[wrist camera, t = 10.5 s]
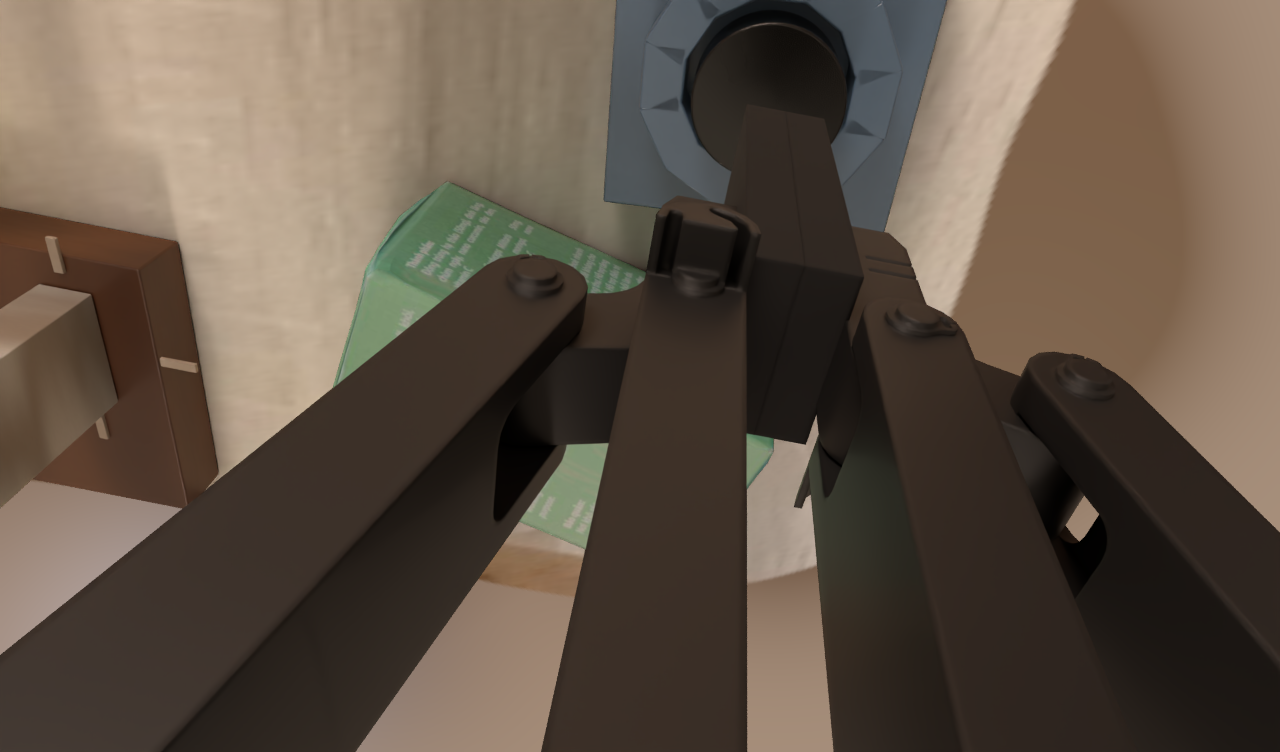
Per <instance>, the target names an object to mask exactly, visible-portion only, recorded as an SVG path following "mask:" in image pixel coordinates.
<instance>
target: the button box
mask: <svg viewBox="0 0 1280 752" xmlns="http://www.w3.org/2000/svg"><path fill="white" fill-rule="evenodd" d="M946 3H947V0H616V13H615V29H614V44H613V60H612V75H611V91H610V106H609V122H608V137H607V153H606V168H605V184H604V201H605V202H612V203H620V204H628V205H636V206H644V207H652V208H660V209H661V208H662V205H664V204H665V203H667V202H668V201H670V200H671V199H673V198H674V197H676V196H677V195H679V196H684V197H689V198H694V199H699V200H705V201H710V202H715V203H720V204H724V202H725V197H726V193H727V189H728V184H729V180H730V175H731V171H729V170H727V169H726V168H724V167H723V166H721V165H720V164H719V163H717V162H716V161H715V160H714V159H713V158H712V157H711V156H710V155H709V154H708V153H707V152H706V150H705V149H704V147H703V146H702V144H701V143H700V141H699V139H698V137H697V135H696V132H695V129H694V126H693V122H692V117H691V106H690V105H691V93H692V87H693V82H694V78H695V74H696V70H697V66H698V63H699V60H700V58H701V56H702V54H703V52H704V50H705V48H706V47H707V45H708V44H709V42H710V41H711V40H712V39H713V37H714V36H715V35H716V34H717V33H718V32H719V31H720V30H721V29H722V28H723V27H725V26H726V25H728V24H729V23H730V22H732V21H734V20H735V19H737V18H739V17H741V16H744V15H746V14H749V13H753V12H757V11H763V10H782V11H787V12H791V13H794V14H797V15H800V16H802V17H804V18H806V19H808V20H809V21H811V22H812V23H813V24H815V25H816V26H817V27H818V28H819V29H820V30H821V31H823V32H824V34H825V35H826V36H827V38H828V39H829V40H830V42H831V44H832V45H833V47H834V49H835V51H836V54H837V56H838V59H839V62H840V64H841V67H842V70H843V72H844V76H845V80H846V86H847V106H846V113H845V117H844V120H843V124H842V126H841V128H840V131H839V133H838V135H837V136H836V138H835V140H834V141H833V143H832V144H831V147H832V151H833V155H834V159H835V163H836V167H837V171H838V175H839V179H840V183H841V187H842V191H843V195H844V199H845V203H846V207H847V211H848V214H849V218H850V222H851V226H854V227H859V228H864V229H870V230H875V231H880V232H884V231H885V227H886V224H887V220H888V216H889V213H890V209H891V205H892V202H893V198H894V194H895V190H896V187H897V183H898V179H899V176H900V172H901V168H902V165H903V161H904V157H905V154H906V150H907V146H908V143H909V139H910V135H911V132H912V128H913V124H914V121H915V117H916V113H917V110H918V106H919V102H920V99H921V95H922V91H923V88H924V84H925V80H926V77H927V73H928V69H929V65H930V62H931V58H932V54H933V51H934V47H935V43H936V40H937V36H938V32H939V29H940V25H941V21H942V18H943V14H944V10H945V7H946Z"/></svg>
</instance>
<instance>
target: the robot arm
mask: <svg viewBox="0 0 1280 752" xmlns="http://www.w3.org/2000/svg"><path fill="white" fill-rule="evenodd" d="M911 265H912V264H911V261H910V259H909V256H908V253H907V250H906V249H905V248H904V247H903V246H902V245H901V244H900V243H899V242H898V241H897V240H896V239H895V238H893V237H892V236H891V235H890V234H889V233H885V232H880V231H875V230H870V229H864V228H859V227H854V226H851V222H850V218H849V214H848V211H847V207H846V203H845V199H844V195H843V191H842V187H841V183H840V179H839V175H838V171H837V167H836V163H835V159H834V155H833V151H832V147H831V143H830V139H829V135H828V131H827V127H826V123H825V119H823V118H818V117H812V116H807V115H802V114H797V113H791V112H786V111H781V110H776V109H770V108H765V107H760V106H755V105H749V104H747V105H746V110H745V114H744V118H743V123H742V127H741V131H740V136H739V140H738V145H737V149H736V153H735V158H734V162H733V167H732V171H731V175H730V180H729V184H728V189H727V193H726V197H725V202H724V204H720V203H715V202H710V201H705V200H699V199H694V198H689V197H684V196H679V195H677V196H676V197H674V198H673V199H671V200H670V201H668V202H667V203H665V204H664V205H662V208H661V209H660V210H659V212H658V213H657V214H656V220H655V225H654V231H653V236H652V242H651V247H650V253H649V259H648V264H647V270H646V275H645V279H644V281H642V282H641V283H640V284H639V285H637V286H635V287H633V288H630V289H628V290H624V291H619V292H614V293H587V292H588V285H587V282H586V280H585V277H584V276H583V275H582V274H581V273H580V272H579V271H577V270H576V269H575V268H574V267H572V266H570V265H567V264H565V263H563V262H561V261H558V260H555V259H550V258H546V257H545V256H542V255H534V254H532V256H529V254H519V255H516V256H510V257H505V258H499V259H497V260H495V261H493V262H491V263H489V264H487V265H486V266H484V267H483V268H482V269H481V270H479V271H478V272H477V273H476V274H474V275H473V276H472V277H471V278H469V279H468V280H467V281H466V282H464V283H463V284H462V285H461V286H459V287H458V288H457V289H456V290H454V291H453V292H452V293H451V294H450V295H448V296H447V297H446V298H445V299H443V300H442V301H441V302H440V303H438V304H437V305H436V306H435V307H433V308H432V309H431V310H430V311H428V312H427V313H426V314H425V315H423V316H422V317H421V318H420V319H418V320H417V321H416V322H415V323H413V324H412V325H411V326H410V327H408V328H407V329H406V330H405V331H403V332H402V333H401V334H400V335H398V336H397V337H396V338H395V339H393V340H392V341H391V342H390V343H388V344H387V345H386V346H385V347H383V348H382V349H381V350H380V351H378V352H377V353H376V354H375V355H373V356H372V357H371V358H370V359H369V360H367V361H366V362H365V363H364V364H362V365H361V366H360V367H359V368H357V369H356V370H355V371H354V372H352V373H351V374H350V375H349V376H347V377H346V378H345V379H344V380H342V381H341V382H340V383H339V384H337V385H336V386H335V387H334V388H332V389H331V390H330V391H329V392H327V393H326V394H325V395H324V396H322V397H321V398H320V399H319V400H317V401H316V402H315V403H314V404H312V405H311V406H310V407H309V408H307V409H306V410H305V411H304V412H302V413H301V414H300V415H299V416H297V417H296V418H295V419H294V420H292V421H291V422H290V423H289V424H288V425H286V426H285V427H284V428H283V429H281V430H280V431H279V432H278V433H276V434H275V435H274V436H273V437H271V438H270V439H269V440H268V441H266V442H265V443H264V444H263V445H261V446H260V447H259V448H258V449H256V450H255V451H254V452H253V453H251V454H250V455H249V456H248V457H246V458H245V459H244V460H243V461H241V462H240V463H239V464H238V465H236V466H235V467H234V468H233V469H231V470H230V471H229V472H228V473H226V474H225V475H224V476H223V477H221V478H220V479H219V480H218V481H216V482H215V483H214V484H213V485H212V486H210V487H209V488H208V489H207V490H205V491H204V492H203V493H202V494H200V495H199V496H198V497H197V498H195V499H194V500H193V501H192V502H190V503H189V504H188V505H187V506H185V507H184V508H183V509H182V510H181V511H179V512H178V513H177V514H175V515H174V516H173V517H172V518H170V519H169V520H168V521H167V522H165V523H164V524H163V525H162V526H160V527H159V528H158V529H157V530H156V531H154V532H153V533H152V534H150V535H149V536H148V537H147V538H146V539H144V540H143V541H142V542H141V543H139V544H138V545H137V546H136V547H134V548H133V549H132V550H131V551H129V552H128V553H127V554H126V555H124V556H123V557H122V558H121V559H119V560H118V561H117V562H116V563H114V564H113V565H112V566H111V567H110V568H108V569H107V570H106V571H104V572H103V573H102V574H101V575H99V576H98V577H97V578H96V579H94V580H93V581H92V582H91V583H89V584H88V585H87V586H86V587H84V588H83V589H82V590H81V591H80V592H78V593H77V594H76V595H74V596H73V597H72V598H71V599H70V600H68V601H67V602H66V603H65V604H63V605H62V606H61V607H60V608H58V609H57V610H56V611H54V612H53V613H52V614H51V615H50V616H48V617H47V618H46V619H45V620H43V621H42V622H41V623H40V624H38V625H37V626H36V627H35V628H33V629H32V630H31V631H30V632H28V633H27V634H26V635H25V636H23V637H22V638H21V639H20V640H18V641H17V642H16V643H15V644H13V645H12V646H11V647H10V648H8V649H7V650H6V651H5V652H3V653H2V654H1V655H0V752H356V750H357V749H358V747H359V746H360V745H361V743H362V742H363V740H364V739H365V738H366V736H367V735H368V733H369V732H370V730H371V729H372V728H373V726H374V725H375V724H376V722H377V721H378V719H379V718H380V716H381V715H382V713H383V712H384V711H385V709H386V708H387V706H388V705H389V704H390V702H391V701H392V700H393V698H394V697H395V695H396V694H397V693H398V691H399V690H400V688H401V687H402V686H403V684H404V683H405V681H406V680H407V678H408V677H409V676H410V674H411V673H412V671H413V670H414V669H415V667H416V666H417V664H418V663H419V661H420V660H421V659H422V657H423V656H424V655H425V653H426V652H427V650H428V649H429V648H430V646H431V645H432V643H433V642H434V640H435V639H436V638H437V636H438V635H439V633H440V632H441V631H442V629H443V628H444V626H445V625H446V624H447V622H448V621H449V619H450V618H451V617H452V615H453V614H454V612H455V611H456V609H457V608H458V607H459V605H460V604H461V602H462V601H463V599H464V598H465V597H466V595H467V594H468V593H469V591H470V590H471V588H472V587H473V585H474V584H475V583H476V581H477V580H478V579H479V577H480V576H481V574H482V573H483V572H484V570H485V569H486V567H487V566H488V564H489V563H490V562H491V560H492V559H493V557H494V556H495V555H496V553H497V552H498V550H499V549H500V548H501V546H502V545H503V543H504V542H505V541H506V539H507V538H508V536H509V535H510V534H511V532H512V531H513V529H514V528H515V526H516V525H517V524H518V522H519V521H520V519H521V518H522V517H523V515H524V514H525V512H526V511H527V510H528V508H529V507H530V505H531V504H532V503H533V501H534V500H535V498H536V497H537V496H538V494H539V493H540V491H541V490H542V488H543V487H544V486H545V484H546V483H547V481H548V480H549V479H550V477H551V476H552V474H553V473H554V472H555V470H556V469H557V467H558V466H559V465H560V463H561V462H562V460H563V457H564V454H565V451H566V447H567V445H575V444H601V443H609V444H608V448H607V453H606V458H605V462H604V467H603V471H602V476H601V480H600V485H599V490H598V494H597V499H596V503H595V508H594V512H593V517H592V522H591V526H590V531H589V535H588V540H587V544H586V549H585V554H584V558H583V563H582V567H581V572H580V576H579V581H578V586H577V590H576V595H575V599H574V604H573V609H572V613H571V618H570V622H569V627H568V632H567V636H566V641H565V645H564V649H563V654H562V659H561V663H560V668H559V672H558V677H557V682H556V686H555V691H554V695H553V700H552V705H551V709H550V714H549V718H548V723H547V727H546V732H545V736H544V741H543V745H542V750H541V752H747V434H752V435H758V436H763V437H768V438H773V439H779V440H784V441H789V442H794V443H799V444H805V445H806V442H807V439H808V437H809V434H810V431H811V428H812V425H813V422H814V420H815V417H816V414H817V423H818V432H819V435H818V438H817V441H816V443H815V446H814V449H813V452H812V454H811V457H810V460H809V463H808V466H807V468H806V471H805V474H804V477H803V480H802V482H801V485H800V488H799V491H798V493H797V496H796V500H795V505H794V507H796V508H802V506H803V504H804V501H805V498H806V497H808V496H809V495H811V501H812V512H813V523H814V535H815V546H816V557H817V569H818V579H819V591H820V602H821V614H822V625H823V636H824V647H825V659H826V670H827V681H828V693H829V704H830V714H831V727H832V738H833V749H834V752H1280V532H1279V531H1278V530H1276V528H1275V527H1274V526H1272V524H1271V523H1270V522H1268V521H1267V519H1265V518H1264V517H1263V516H1262V515H1261V514H1260V513H1259V512H1258V511H1257V510H1256V509H1255V508H1254V507H1253V506H1252V505H1251V504H1250V503H1249V502H1248V501H1247V500H1246V499H1245V498H1244V497H1243V496H1242V495H1241V494H1240V493H1239V492H1238V491H1237V490H1236V489H1235V488H1234V487H1233V486H1232V485H1231V484H1230V483H1229V482H1228V481H1227V480H1226V479H1225V478H1224V477H1223V476H1222V475H1221V474H1220V473H1219V472H1218V471H1217V470H1216V469H1215V468H1214V467H1213V466H1212V465H1211V464H1210V463H1209V462H1208V461H1207V460H1206V459H1205V458H1204V457H1203V456H1201V454H1200V453H1198V452H1197V450H1196V449H1195V448H1193V447H1192V446H1191V444H1190V443H1189V442H1187V441H1186V440H1185V439H1184V438H1183V437H1182V436H1181V435H1180V434H1179V433H1178V432H1177V431H1176V430H1175V429H1174V428H1173V427H1172V426H1171V425H1170V424H1169V423H1168V422H1167V421H1166V420H1165V419H1164V418H1163V417H1162V416H1161V415H1160V414H1159V413H1158V412H1157V411H1156V410H1155V409H1154V408H1153V407H1152V406H1151V405H1150V404H1149V403H1148V402H1147V401H1146V400H1145V399H1144V398H1143V397H1142V396H1141V395H1140V394H1139V393H1138V392H1137V391H1136V390H1135V389H1134V388H1133V387H1132V386H1131V385H1130V384H1128V383H1127V382H1126V381H1124V380H1123V379H1122V378H1121V377H1119V376H1118V375H1117V374H1116V373H1114V372H1112V371H1110V370H1108V369H1106V368H1104V367H1103V366H1102V365H1101V364H1100V363H1098V362H1097V361H1094V360H1092V359H1089V358H1086V359H1084V356H1080V355H1077V354H1064V353H1059V352H1045V353H1038V354H1036V355H1035V356H1033V357H1031V358H1030V359H1029V361H1028V363H1027V365H1026V367H1025V369H1024V371H1023V373H1022V374H1021V376H1018V375H1015V374H1012V373H1009V372H1007V371H1004V370H1001V369H998V368H996V367H993V366H990V365H987V364H985V363H983V362H980V361H978V360H975V358H974V355H973V353H972V351H971V348H970V346H969V343H968V341H967V338H966V336H965V334H964V332H963V331H962V329H961V328H960V327H959V325H958V324H957V323H956V322H955V321H954V320H953V319H952V318H950V317H949V316H947V315H946V314H944V313H943V312H941V311H939V310H936V309H934V308H932V307H930V306H928V305H926V302H925V300H924V297H923V294H922V291H921V289H920V286H919V283H918V280H916V275H915V272H914V269H913V267H911ZM1083 496H1085V497H1086V498H1087V499H1088V500H1089V502H1090V503H1091V504H1092V506H1093V507H1094V508H1095V509H1096V511H1097V512H1098V513H1099V516H1098V517H1097V519H1096V520H1095V522H1094V524H1093V525H1092V527H1091V528H1090V529H1089V531H1088V533H1087V534H1086V536H1085V537H1084V538H1083V539H1082V540H1081V541H1080V542H1079V541H1078V540H1077V539H1076V538H1075V537H1074V536H1073V535H1072V534H1071V533H1070V531H1069V530H1068V528H1067V527H1066V526H1065V525H1066V523H1067V522H1068V520H1069V519H1070V517H1071V516H1072V514H1073V512H1074V511H1075V509H1076V507H1077V506H1078V504H1079V503H1080V501H1081V500H1082V498H1083Z"/></svg>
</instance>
